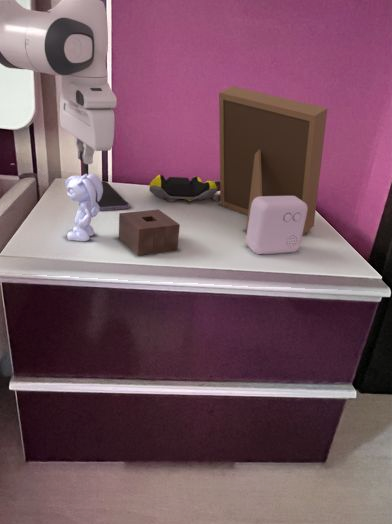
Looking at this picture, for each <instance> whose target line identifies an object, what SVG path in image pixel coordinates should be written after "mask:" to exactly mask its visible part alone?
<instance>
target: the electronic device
mask: <svg viewBox="0 0 392 524" xmlns="http://www.w3.org/2000/svg"><path fill="white" fill-rule="evenodd" d="M307 211H308V207H307V205H306V203H305V202H303V201H302V200H300V199H299V198H297V197H296V196H259V197H256V198H255V199H254V200H253V201H252V204H251V210H250V216H249V223H248V229H247V230H246V236H245V245H246V246H247V247H248V248H249V249H250V250H251V251H252V252H253V253H255V254H257V255H273V254H286V253H295V252H297V251H298V250H299V248H300V246H301V243H302V237H303V235H302V234H303V229H304V224H305V220H306V215H307Z"/></svg>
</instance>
